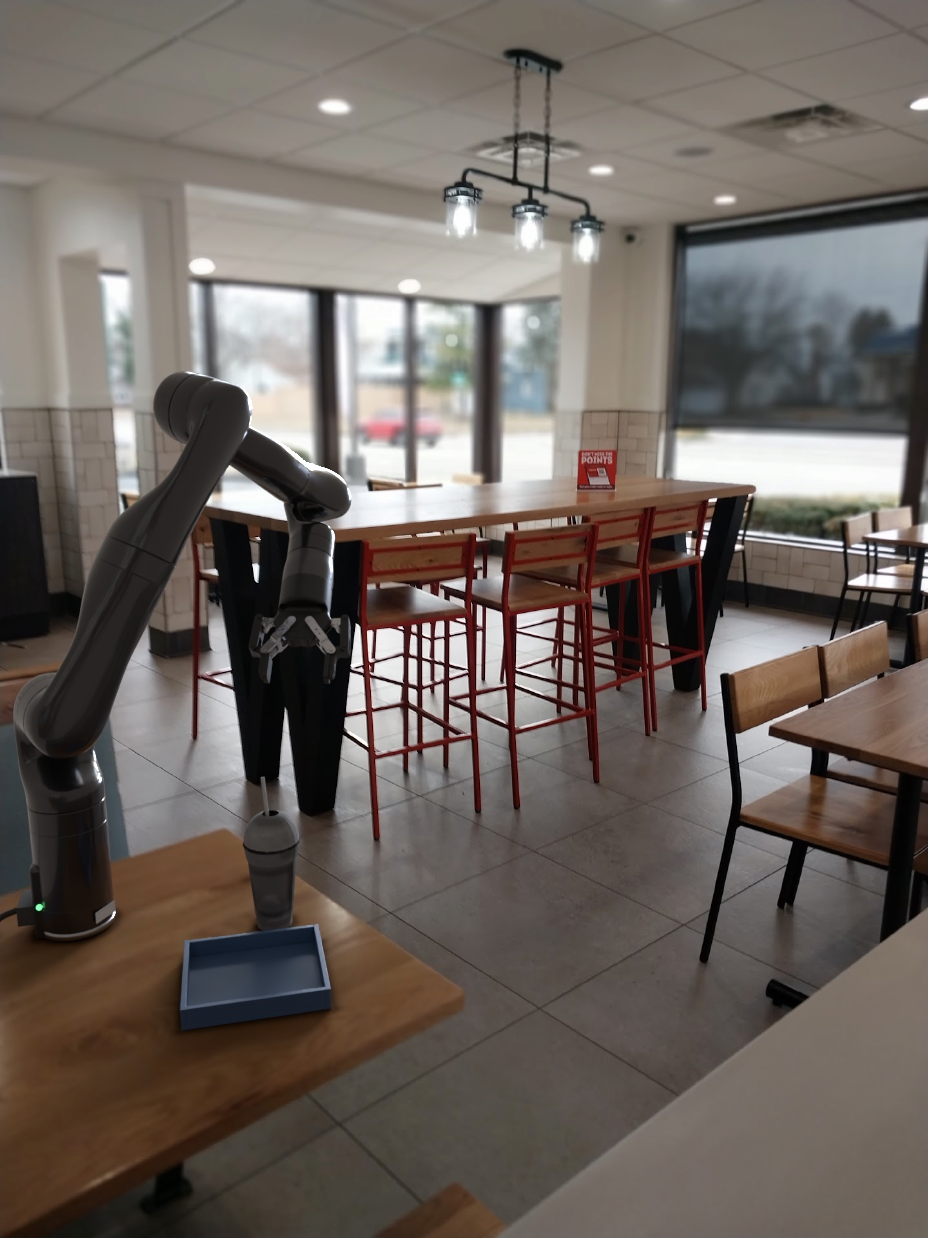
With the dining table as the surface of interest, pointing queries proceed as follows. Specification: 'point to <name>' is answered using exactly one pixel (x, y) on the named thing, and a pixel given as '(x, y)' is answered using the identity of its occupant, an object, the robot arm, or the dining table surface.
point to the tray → (253, 977)
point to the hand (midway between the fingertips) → (296, 681)
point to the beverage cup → (272, 865)
